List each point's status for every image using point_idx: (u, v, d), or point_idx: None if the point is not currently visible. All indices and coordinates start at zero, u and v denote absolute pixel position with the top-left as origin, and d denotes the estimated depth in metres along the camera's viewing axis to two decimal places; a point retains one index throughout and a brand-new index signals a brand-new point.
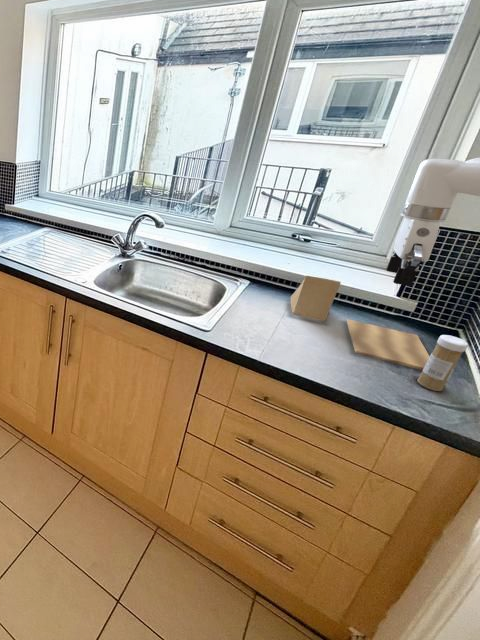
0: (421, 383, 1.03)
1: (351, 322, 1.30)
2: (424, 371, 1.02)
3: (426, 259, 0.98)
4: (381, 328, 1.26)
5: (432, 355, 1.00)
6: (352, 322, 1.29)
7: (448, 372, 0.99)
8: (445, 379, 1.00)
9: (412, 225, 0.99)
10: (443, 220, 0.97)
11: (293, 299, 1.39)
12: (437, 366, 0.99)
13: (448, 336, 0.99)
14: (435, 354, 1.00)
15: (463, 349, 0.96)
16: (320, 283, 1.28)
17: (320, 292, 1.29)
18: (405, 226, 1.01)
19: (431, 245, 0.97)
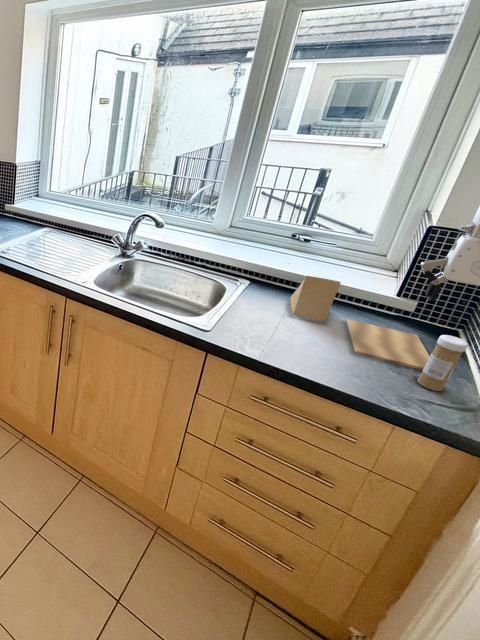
0: (421, 383, 1.03)
1: (351, 322, 1.30)
2: (424, 371, 1.02)
3: (445, 274, 0.95)
4: (381, 328, 1.26)
5: (432, 355, 1.00)
6: (352, 322, 1.29)
7: (448, 372, 0.99)
8: (445, 379, 1.00)
9: None
10: None
11: (293, 299, 1.39)
12: (437, 366, 0.99)
13: (448, 336, 0.99)
14: (435, 354, 1.00)
15: (463, 349, 0.96)
16: (320, 283, 1.28)
17: (320, 292, 1.29)
18: None
19: (451, 260, 0.94)
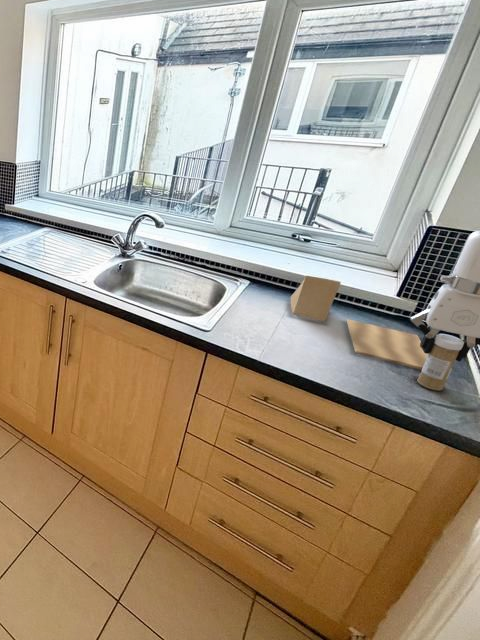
0: (421, 383, 1.03)
1: (351, 322, 1.30)
2: (423, 371, 1.02)
3: (427, 322, 0.99)
4: (381, 328, 1.26)
5: (429, 354, 1.01)
6: (352, 322, 1.29)
7: (446, 371, 0.99)
8: (444, 378, 1.00)
9: None
10: (462, 292, 0.93)
11: (293, 299, 1.39)
12: (435, 365, 1.00)
13: (444, 335, 0.99)
14: (432, 353, 1.00)
15: (459, 347, 0.96)
16: (320, 283, 1.28)
17: (320, 292, 1.29)
18: None
19: (433, 309, 0.97)
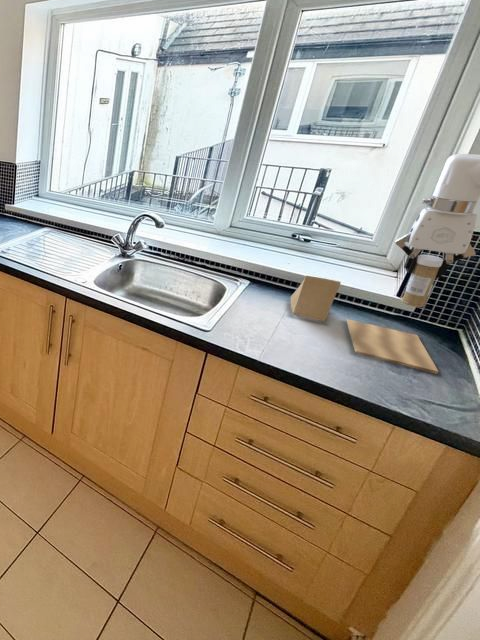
0: (405, 302, 1.12)
1: (351, 322, 1.30)
2: (406, 290, 1.11)
3: (410, 243, 1.07)
4: (381, 328, 1.26)
5: (412, 274, 1.10)
6: (352, 322, 1.29)
7: (428, 288, 1.08)
8: (426, 295, 1.08)
9: None
10: (440, 211, 1.02)
11: (293, 299, 1.39)
12: (417, 283, 1.08)
13: (425, 255, 1.08)
14: (415, 272, 1.09)
15: (439, 264, 1.05)
16: (320, 283, 1.28)
17: (320, 292, 1.29)
18: None
19: (415, 230, 1.06)
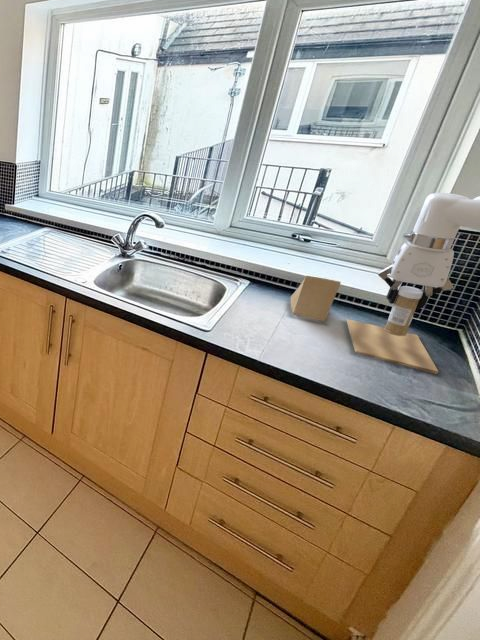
0: (387, 330, 1.17)
1: (351, 322, 1.30)
2: (389, 319, 1.16)
3: (392, 275, 1.13)
4: (381, 328, 1.26)
5: (394, 304, 1.15)
6: (352, 322, 1.29)
7: (408, 318, 1.13)
8: (407, 325, 1.14)
9: None
10: (420, 246, 1.07)
11: (293, 299, 1.39)
12: (399, 314, 1.14)
13: (406, 287, 1.13)
14: (396, 303, 1.14)
15: (419, 296, 1.10)
16: (320, 283, 1.28)
17: (320, 292, 1.29)
18: None
19: (396, 263, 1.11)
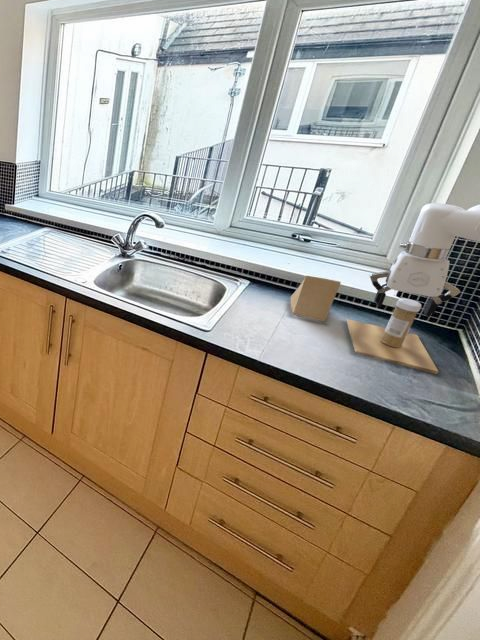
0: (383, 341, 1.18)
1: (351, 322, 1.30)
2: (386, 331, 1.17)
3: (388, 284, 1.13)
4: (381, 328, 1.26)
5: (392, 316, 1.16)
6: (352, 322, 1.29)
7: (405, 330, 1.14)
8: (403, 337, 1.15)
9: None
10: (416, 256, 1.08)
11: (293, 299, 1.39)
12: (396, 325, 1.15)
13: (405, 299, 1.14)
14: (394, 315, 1.15)
15: (417, 309, 1.11)
16: (320, 283, 1.28)
17: (320, 292, 1.29)
18: None
19: (393, 273, 1.12)
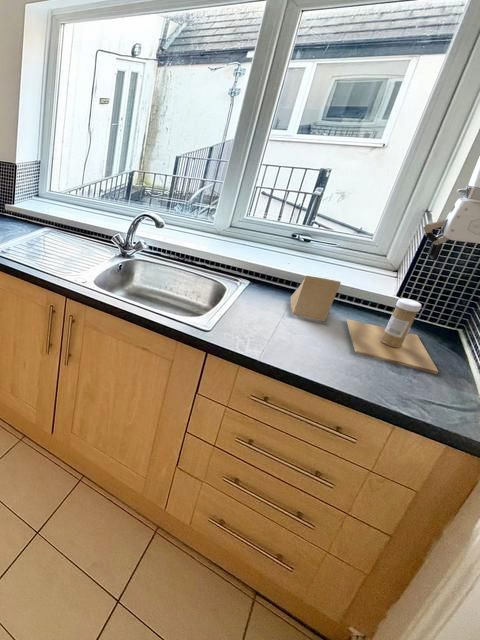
0: (383, 341, 1.18)
1: (351, 322, 1.30)
2: (386, 331, 1.17)
3: (445, 234, 1.04)
4: (381, 328, 1.26)
5: (392, 316, 1.16)
6: (352, 322, 1.29)
7: (405, 330, 1.14)
8: (403, 337, 1.15)
9: None
10: (477, 200, 0.98)
11: (293, 299, 1.39)
12: (396, 325, 1.15)
13: (405, 299, 1.14)
14: (394, 315, 1.15)
15: (417, 309, 1.11)
16: (320, 283, 1.28)
17: (320, 292, 1.29)
18: None
19: (450, 221, 1.03)
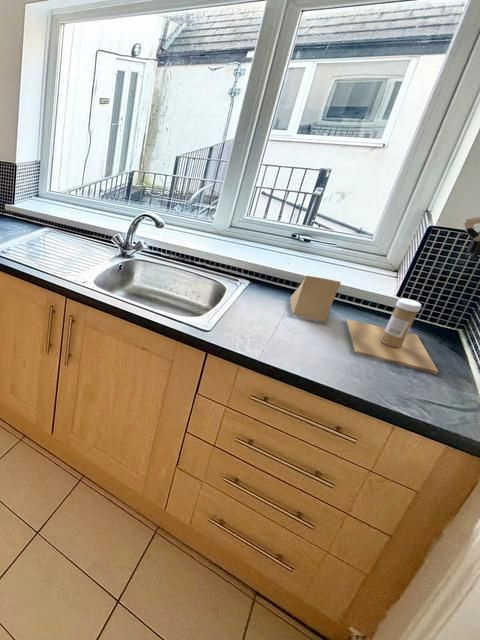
0: (383, 341, 1.18)
1: (351, 322, 1.30)
2: (386, 331, 1.17)
3: None
4: (381, 328, 1.26)
5: (392, 316, 1.16)
6: (352, 322, 1.29)
7: (405, 330, 1.14)
8: (403, 337, 1.15)
9: None
10: None
11: (293, 299, 1.39)
12: (396, 325, 1.15)
13: (405, 299, 1.14)
14: (394, 315, 1.15)
15: (417, 309, 1.11)
16: (320, 283, 1.28)
17: (320, 292, 1.29)
18: None
19: None
